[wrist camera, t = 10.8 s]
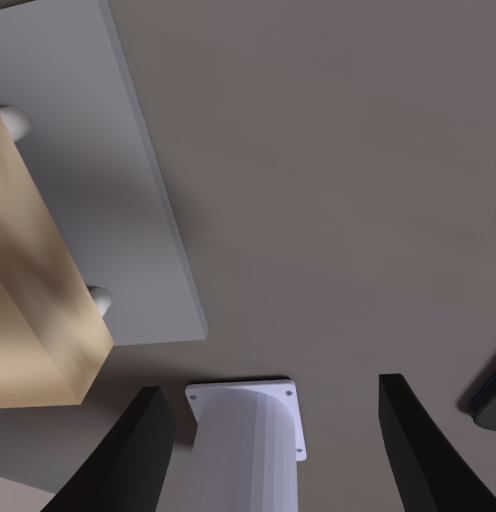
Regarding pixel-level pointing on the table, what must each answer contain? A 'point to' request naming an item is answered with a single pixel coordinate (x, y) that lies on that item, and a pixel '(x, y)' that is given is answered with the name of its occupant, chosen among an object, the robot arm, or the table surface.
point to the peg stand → (97, 166)
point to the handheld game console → (485, 407)
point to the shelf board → (41, 300)
